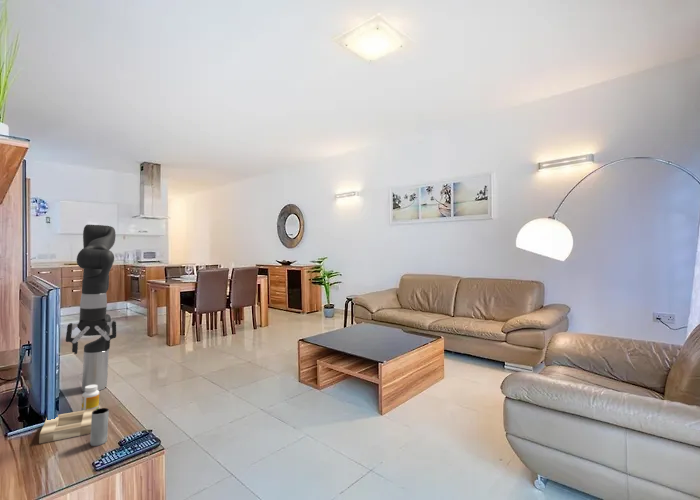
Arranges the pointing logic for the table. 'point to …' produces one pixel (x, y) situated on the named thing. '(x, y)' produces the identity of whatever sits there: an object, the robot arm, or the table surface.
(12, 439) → the table surface
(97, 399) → the supplement bottle
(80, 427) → the holder
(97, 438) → the planter
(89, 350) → the robot arm
